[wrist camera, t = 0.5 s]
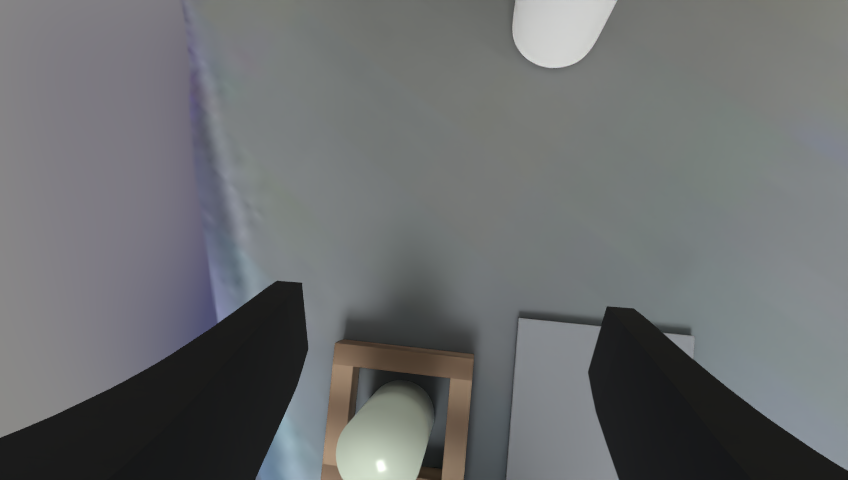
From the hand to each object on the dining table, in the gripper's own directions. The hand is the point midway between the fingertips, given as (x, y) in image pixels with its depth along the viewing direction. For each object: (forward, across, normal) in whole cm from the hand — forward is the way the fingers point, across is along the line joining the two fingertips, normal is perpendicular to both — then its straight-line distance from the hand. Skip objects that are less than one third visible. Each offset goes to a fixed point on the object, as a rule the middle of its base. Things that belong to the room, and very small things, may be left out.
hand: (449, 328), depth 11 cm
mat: (+15, -12, +19) cm, 27 cm away
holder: (+15, +2, +21) cm, 26 cm away
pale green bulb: (+15, +2, +21) cm, 26 cm away
